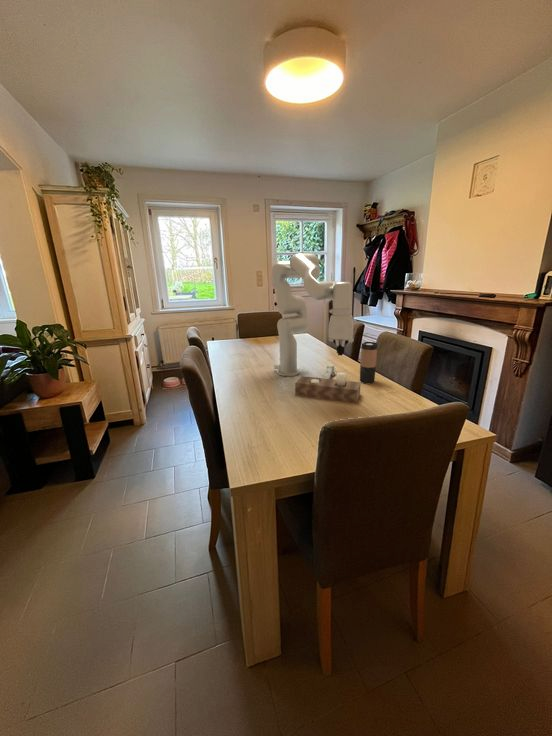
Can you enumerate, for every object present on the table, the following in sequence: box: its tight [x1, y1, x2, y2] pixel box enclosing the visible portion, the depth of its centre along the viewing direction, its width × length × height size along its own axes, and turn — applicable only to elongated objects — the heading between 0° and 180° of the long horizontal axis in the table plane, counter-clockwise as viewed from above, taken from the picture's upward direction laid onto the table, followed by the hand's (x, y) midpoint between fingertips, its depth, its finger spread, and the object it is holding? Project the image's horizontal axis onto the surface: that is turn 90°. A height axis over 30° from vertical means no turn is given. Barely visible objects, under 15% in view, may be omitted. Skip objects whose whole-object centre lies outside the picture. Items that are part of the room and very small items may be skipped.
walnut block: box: [294, 375, 362, 404], centre depth 140 cm, size 28×10×6 cm, turn 68°
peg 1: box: [311, 379, 319, 383], centre depth 143 cm, size 4×4×6 cm
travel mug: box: [359, 341, 378, 384], centre depth 154 cm, size 8×8×20 cm
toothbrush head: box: [321, 363, 336, 379], centre depth 159 cm, size 5×7×25 cm
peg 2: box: [335, 371, 347, 386], centre depth 137 cm, size 4×4×6 cm
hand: (340, 354), depth 133 cm, fingers closed
